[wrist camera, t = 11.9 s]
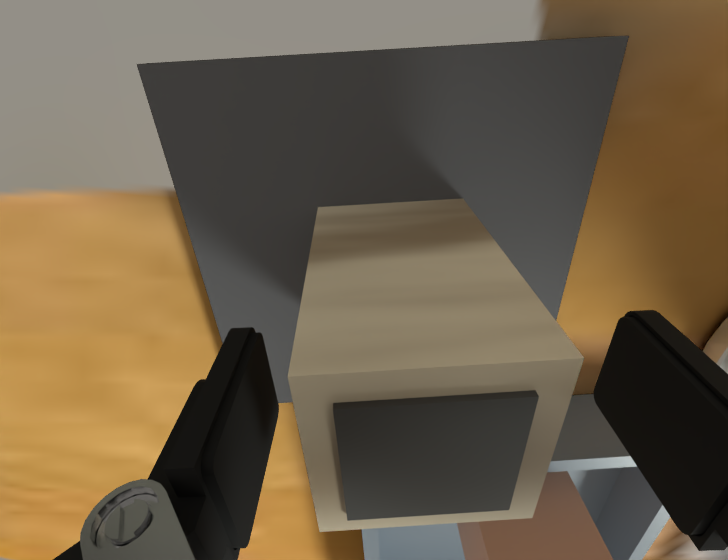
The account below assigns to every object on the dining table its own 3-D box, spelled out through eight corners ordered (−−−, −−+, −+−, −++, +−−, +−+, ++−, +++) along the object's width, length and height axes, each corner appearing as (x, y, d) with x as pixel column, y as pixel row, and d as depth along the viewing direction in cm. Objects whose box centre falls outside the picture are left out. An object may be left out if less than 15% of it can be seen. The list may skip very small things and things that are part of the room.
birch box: (317, 207, 13) (286, 382, 6) (463, 198, 13) (589, 364, 6) (331, 323, 16) (319, 538, 9) (452, 315, 16) (535, 524, 9)
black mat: (149, 63, 12) (136, 64, 11) (612, 36, 12) (628, 35, 11) (245, 392, 19) (241, 405, 18) (532, 374, 19) (539, 386, 18)
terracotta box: (458, 448, 21) (514, 650, 14) (552, 442, 21) (655, 640, 14) (452, 501, 23) (496, 694, 16) (535, 496, 23) (615, 686, 16)
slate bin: (354, 409, 20) (356, 474, 17) (658, 389, 20) (714, 450, 17) (369, 577, 29) (372, 637, 26) (575, 563, 30) (600, 622, 27)
